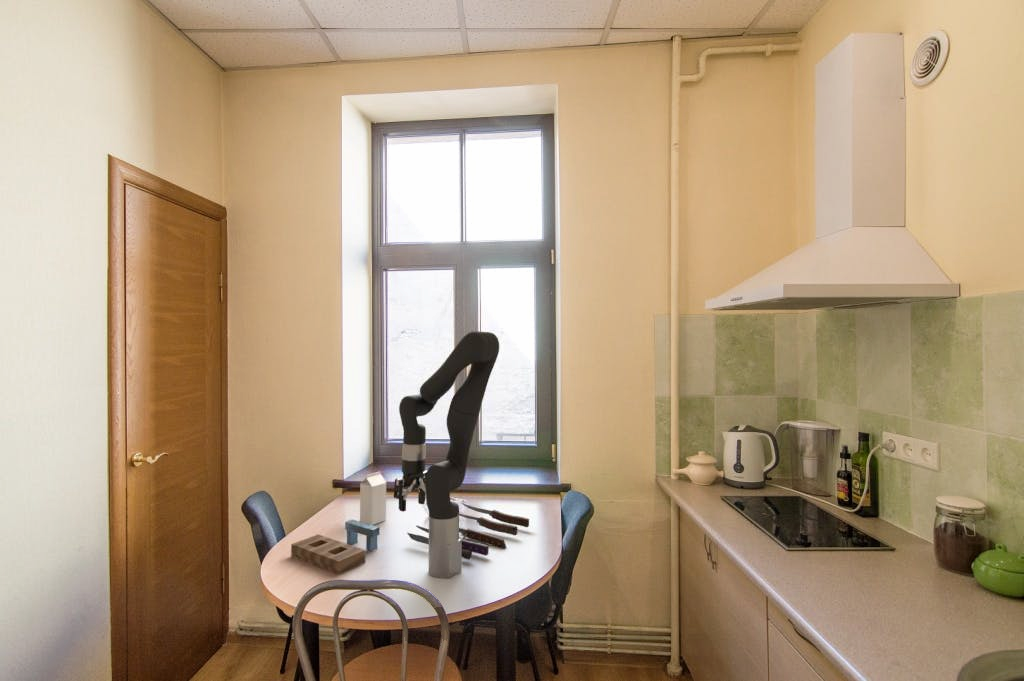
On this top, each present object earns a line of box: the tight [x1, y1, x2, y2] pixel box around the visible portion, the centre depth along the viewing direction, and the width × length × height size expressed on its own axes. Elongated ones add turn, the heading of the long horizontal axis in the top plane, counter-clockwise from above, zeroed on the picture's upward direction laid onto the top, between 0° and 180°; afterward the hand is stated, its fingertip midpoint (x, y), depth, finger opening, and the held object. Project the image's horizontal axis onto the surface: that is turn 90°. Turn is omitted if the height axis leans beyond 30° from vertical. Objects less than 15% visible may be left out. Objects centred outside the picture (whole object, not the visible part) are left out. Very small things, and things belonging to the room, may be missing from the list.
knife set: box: [406, 502, 530, 560], centre depth 174 cm, size 35×33×8 cm
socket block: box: [290, 534, 366, 575], centre depth 156 cm, size 24×10×4 cm, turn 57°
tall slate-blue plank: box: [344, 519, 380, 553], centre depth 166 cm, size 14×3×8 cm, turn 57°
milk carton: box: [359, 470, 387, 526], centre depth 191 cm, size 7×7×19 cm
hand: (412, 507), depth 155 cm, fingers open, 8 cm apart
